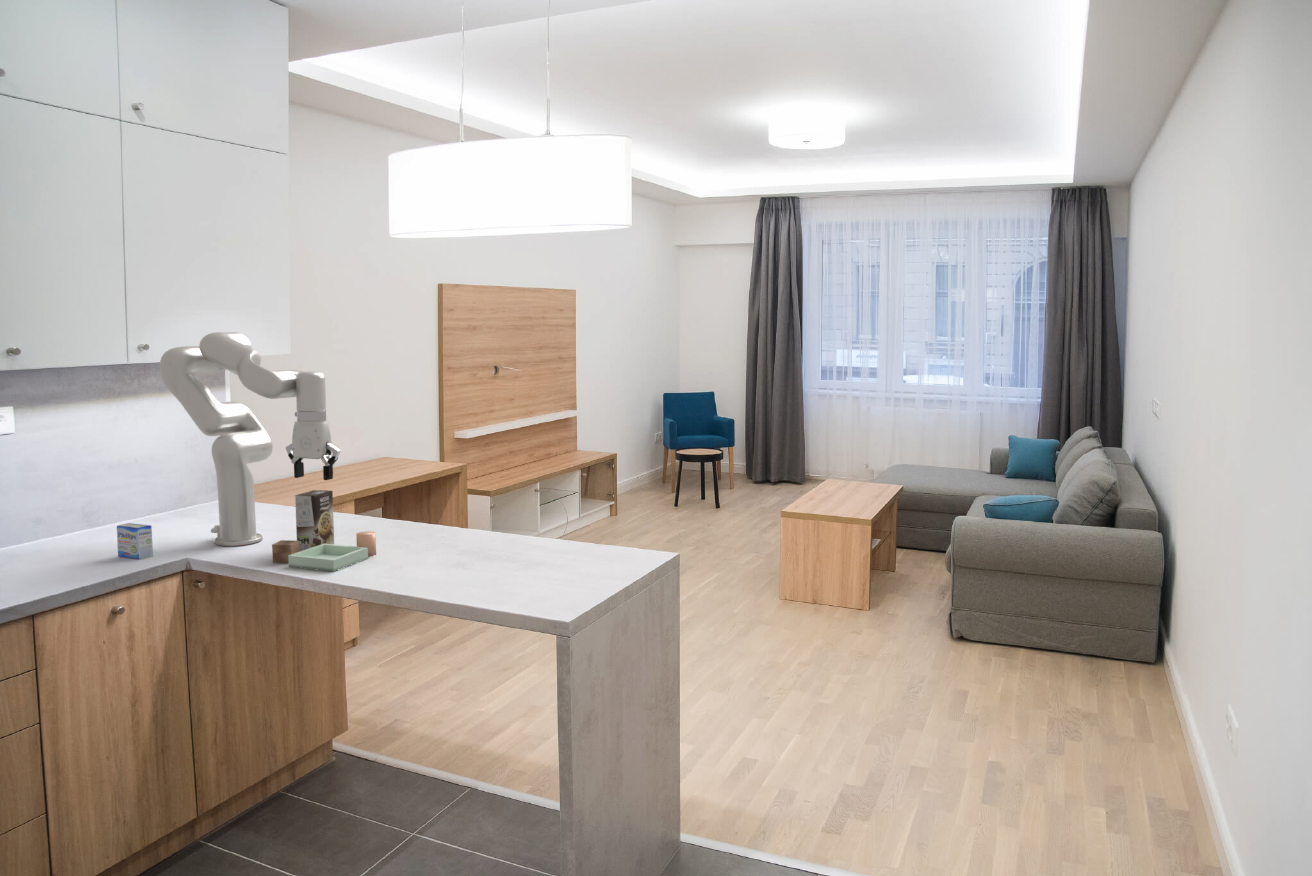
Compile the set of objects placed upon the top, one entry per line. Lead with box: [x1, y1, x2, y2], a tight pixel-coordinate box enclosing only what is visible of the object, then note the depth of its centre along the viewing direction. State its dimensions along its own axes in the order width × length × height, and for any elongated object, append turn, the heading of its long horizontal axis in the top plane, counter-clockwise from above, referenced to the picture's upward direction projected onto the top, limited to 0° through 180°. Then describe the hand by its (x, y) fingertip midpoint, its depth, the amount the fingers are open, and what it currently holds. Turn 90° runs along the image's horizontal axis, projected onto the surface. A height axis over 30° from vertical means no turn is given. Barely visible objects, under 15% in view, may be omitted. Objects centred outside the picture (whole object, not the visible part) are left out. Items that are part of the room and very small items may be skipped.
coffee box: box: [294, 489, 335, 551], centre depth 251 cm, size 9×6×16 cm
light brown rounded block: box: [356, 530, 377, 558], centre depth 246 cm, size 5×5×6 cm
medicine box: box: [116, 522, 154, 560], centre depth 243 cm, size 8×4×9 cm, turn 70°
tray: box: [288, 543, 369, 572], centre depth 238 cm, size 14×14×3 cm
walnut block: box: [271, 539, 300, 564], centre depth 239 cm, size 5×5×5 cm
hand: (313, 478), depth 250 cm, fingers open, 9 cm apart
